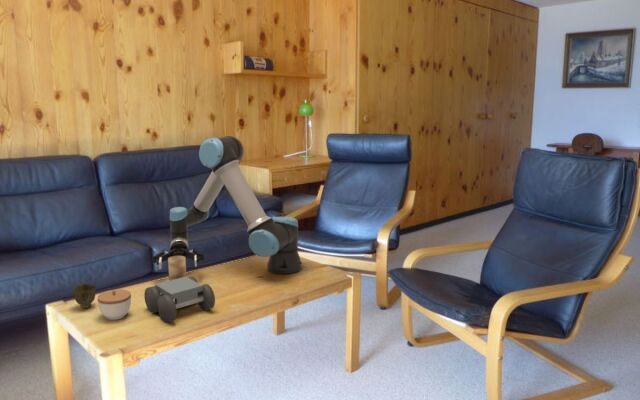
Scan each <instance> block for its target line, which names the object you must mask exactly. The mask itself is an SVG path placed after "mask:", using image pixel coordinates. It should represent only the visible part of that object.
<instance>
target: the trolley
mask: <svg viewBox="0 0 640 400" xmlns="http://www.w3.org/2000/svg"><path fill="white" fill-rule="evenodd" d="M143 296H144V303H145V306H146V308H147V310H148V311H149V312H150V313H151V314H154V313H158V314H159V317H160V319H161V320H162V322H164V323H169V322H172V321H174V320H176V319H177V314H178V313H177V312H178V311H177V309H180V308H183V307H188V306H191V305H194V304H197V305H198V307H199V308H200V309H201V310H202V311H208V310H211V309H213V308H214V307H215V304H216V297H215V294H214V290H213V288H212V287H211V286H210V284H208V283H205V284H204V283H203V284H201V283H199V282H198V280H197V278H195V277H194V276H189V277H188V276H186V277H182V278H178V279H174V280H170V281H169V280H166V281H162V282H159V283H156V284H154V285H153V286H149V287H146V288H145V290H144V295H143Z"/></svg>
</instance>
